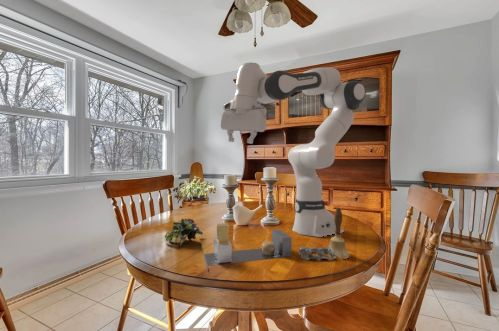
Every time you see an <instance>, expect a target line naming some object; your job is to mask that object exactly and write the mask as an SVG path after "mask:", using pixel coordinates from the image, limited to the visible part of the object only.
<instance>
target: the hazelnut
mask: <svg viewBox="0 0 499 331" xmlns="http://www.w3.org/2000/svg"><path fill="white" fill-rule="evenodd" d="M261 248H262V254H264V255H273V254H274V253H275V244H274V243H273V242H272V241H264V242H262V244H261Z"/></svg>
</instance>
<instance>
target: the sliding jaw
mask: <svg viewBox="0 0 499 331" xmlns="http://www.w3.org/2000/svg"><path fill="white" fill-rule="evenodd" d="M232 247H233V244H232V243H231V241H230V240H229V224H228V223H227V222H226V223H225V222H224V223H217V224H216V237H214V238H213V253H214V254H215V257H216V259H217V262H218V263H224V262H232V251H233V250H232V249H233V248H232Z"/></svg>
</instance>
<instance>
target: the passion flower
mask: <svg viewBox="0 0 499 331" xmlns="http://www.w3.org/2000/svg"><path fill="white" fill-rule="evenodd" d="M172 224H173V225H172V228H171V231H170V232H169V231H167V232H166V234H165V235H164V238H165V241H166V242H168V243H171V241H172V240H173V239H174V243H175V244H177V240H178V239H179V241H180V244H179V248H180V247H181V246H182V244H183V242H184V241H185V240H186V239H188V241H192V239H193V240H196V239H197V237H196V235H203V234H204V232H203V231H201V230H200V228H199V226H197V225H198V224H197V223H195V220H194V219H193V218H190V217H187V218H185V217H184V218H181V220H178V221H172Z"/></svg>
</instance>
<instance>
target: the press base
mask: <svg viewBox="0 0 499 331" xmlns="http://www.w3.org/2000/svg"><path fill="white" fill-rule="evenodd" d="M292 239H293V238H292V236H290V235H289V234H288V233H286V232H285V231H284V230H282V229H272V230H271V242H273V243H274V244H275V253H274V254H273V255H264V254H262V247H261V248H252V249H242V250H232V262H224V263H218V262H217V259H216V257H215V254H214V252H211V253H204V256H203V257H204V263H205V265H206V269H207V272H210V269H209V267H210V266H211V267H212V266H220V265H229V264H236V263H237V264H238V263H244V262H245V263H246V262H252V261H263V260H272V259H273V260H274V259H279V258H281V259H283V258H290V257H291V258H292V243H293V242H292Z"/></svg>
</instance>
